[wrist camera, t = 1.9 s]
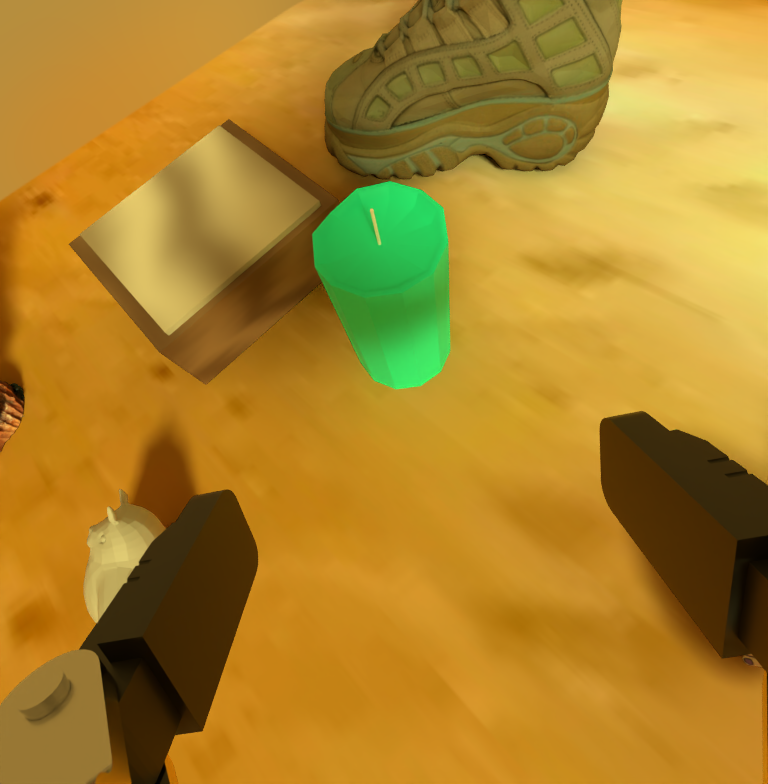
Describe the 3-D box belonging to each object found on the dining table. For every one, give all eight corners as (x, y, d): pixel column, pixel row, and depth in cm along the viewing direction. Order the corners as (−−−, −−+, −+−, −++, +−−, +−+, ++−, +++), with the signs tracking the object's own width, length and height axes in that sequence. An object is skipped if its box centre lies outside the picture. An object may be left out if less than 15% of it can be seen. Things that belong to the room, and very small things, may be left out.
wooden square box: (257, 175, 36) (226, 113, 31) (355, 252, 32) (336, 194, 27) (121, 287, 34) (63, 240, 29) (205, 384, 29) (155, 349, 24)
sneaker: (368, 85, 38) (319, -187, 24) (602, 112, 33) (710, -213, 19) (319, 179, 35) (229, -71, 21) (568, 225, 30) (668, -64, 16)
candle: (429, 293, 29) (415, 133, 18) (465, 368, 27) (473, 237, 16) (347, 325, 30) (282, 186, 18) (375, 403, 27) (321, 296, 16)
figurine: (130, 571, 27) (94, 462, 24) (228, 556, 28) (204, 448, 25) (69, 701, 20) (7, 567, 17) (205, 674, 21) (168, 542, 18)
